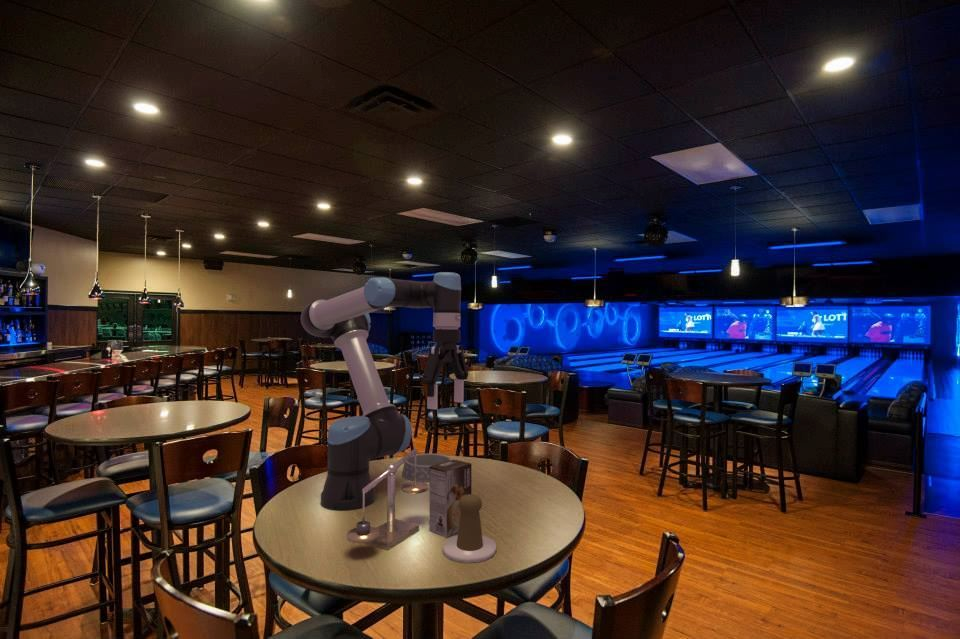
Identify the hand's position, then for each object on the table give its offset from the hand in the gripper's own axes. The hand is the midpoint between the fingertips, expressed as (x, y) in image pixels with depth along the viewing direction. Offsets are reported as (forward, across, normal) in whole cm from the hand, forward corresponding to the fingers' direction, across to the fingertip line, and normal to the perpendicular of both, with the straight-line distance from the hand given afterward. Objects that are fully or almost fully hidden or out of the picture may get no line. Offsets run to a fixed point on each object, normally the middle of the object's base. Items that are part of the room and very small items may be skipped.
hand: (446, 405), depth 136 cm
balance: (+29, -21, +2) cm, 36 cm away
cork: (+28, -18, -18) cm, 38 cm away
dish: (+29, -18, -18) cm, 38 cm away
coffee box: (+29, -10, -8) cm, 32 cm away
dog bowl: (+29, +25, +23) cm, 45 cm away
